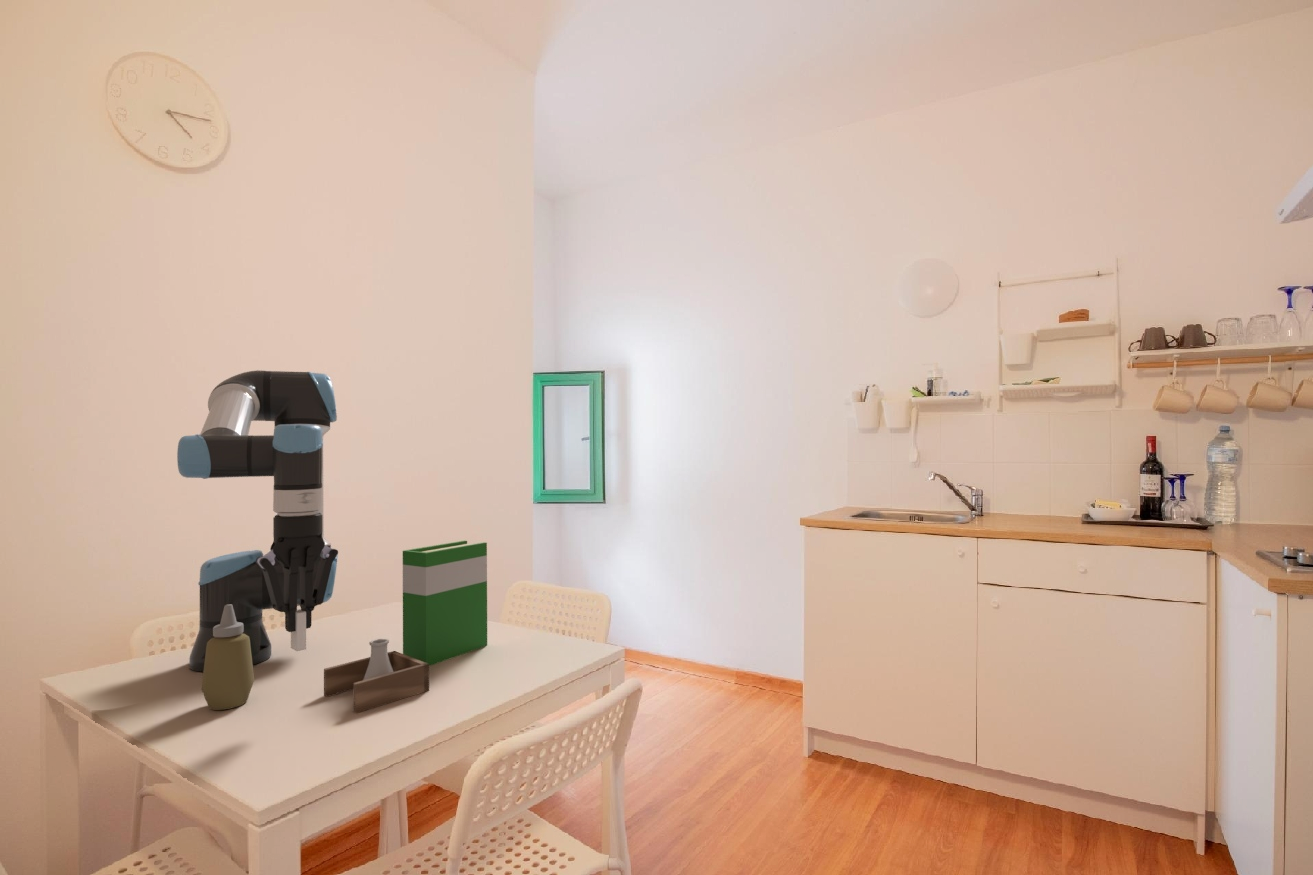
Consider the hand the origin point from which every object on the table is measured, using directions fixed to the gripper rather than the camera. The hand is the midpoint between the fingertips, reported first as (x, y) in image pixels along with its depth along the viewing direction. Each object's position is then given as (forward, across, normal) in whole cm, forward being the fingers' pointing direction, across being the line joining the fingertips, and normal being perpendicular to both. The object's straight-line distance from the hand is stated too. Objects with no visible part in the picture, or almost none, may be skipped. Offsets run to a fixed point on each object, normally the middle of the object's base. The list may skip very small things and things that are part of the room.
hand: (298, 648), depth 115 cm
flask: (+12, +14, -2) cm, 18 cm away
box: (+12, +14, -1) cm, 18 cm away
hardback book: (+12, +36, +11) cm, 39 cm away
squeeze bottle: (+12, -6, +15) cm, 20 cm away
